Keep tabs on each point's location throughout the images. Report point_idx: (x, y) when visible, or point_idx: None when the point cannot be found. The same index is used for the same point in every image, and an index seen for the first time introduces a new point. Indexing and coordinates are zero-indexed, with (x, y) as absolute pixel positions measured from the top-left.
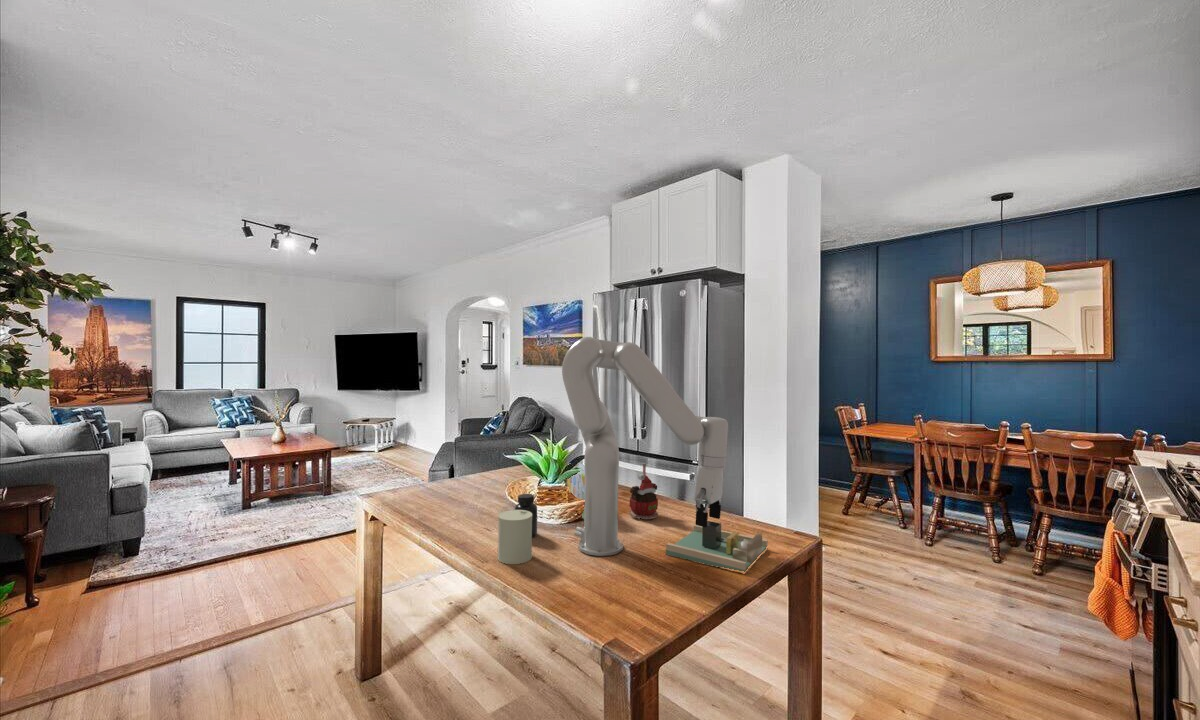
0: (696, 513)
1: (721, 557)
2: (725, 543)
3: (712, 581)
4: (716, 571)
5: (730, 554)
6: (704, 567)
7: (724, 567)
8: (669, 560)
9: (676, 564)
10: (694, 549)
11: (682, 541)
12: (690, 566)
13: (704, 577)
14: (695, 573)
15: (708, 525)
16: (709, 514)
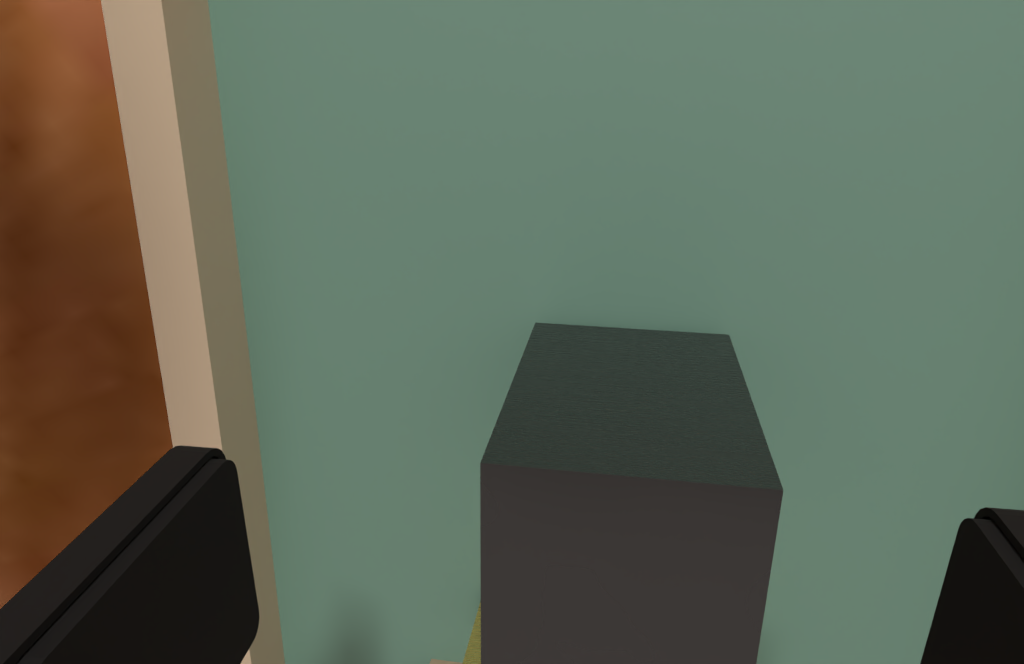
0: (6, 614)
1: None
2: (817, 522)
3: (6, 566)
4: None
5: None
6: None
7: None
8: (71, 83)
9: (46, 195)
10: (201, 352)
11: (572, 2)
12: (108, 332)
13: (16, 500)
14: (22, 418)
15: (498, 566)
16: (986, 545)
